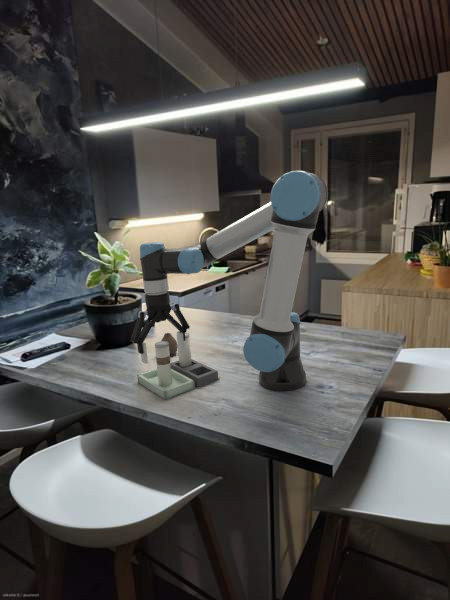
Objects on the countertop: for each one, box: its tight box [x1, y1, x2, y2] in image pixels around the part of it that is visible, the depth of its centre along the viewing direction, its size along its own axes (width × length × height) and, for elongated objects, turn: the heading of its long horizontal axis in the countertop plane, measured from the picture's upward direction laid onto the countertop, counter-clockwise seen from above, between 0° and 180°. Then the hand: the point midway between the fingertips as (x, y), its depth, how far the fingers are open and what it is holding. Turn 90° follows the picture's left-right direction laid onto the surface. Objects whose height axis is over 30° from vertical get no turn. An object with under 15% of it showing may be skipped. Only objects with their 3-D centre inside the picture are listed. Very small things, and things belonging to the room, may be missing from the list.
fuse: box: [176, 332, 193, 368], centre depth 142 cm, size 4×4×14 cm
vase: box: [160, 332, 178, 357], centre depth 161 cm, size 7×7×9 cm
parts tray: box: [137, 368, 196, 400], centre depth 134 cm, size 18×11×3 cm, turn 38°
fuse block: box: [170, 358, 221, 387], centre depth 140 cm, size 18×9×3 cm, turn 38°
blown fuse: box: [154, 340, 172, 386], centre depth 132 cm, size 4×4×14 cm
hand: (163, 356), depth 132 cm, fingers open, 13 cm apart
